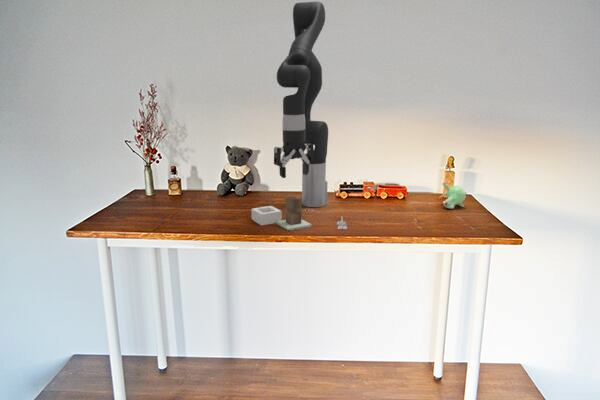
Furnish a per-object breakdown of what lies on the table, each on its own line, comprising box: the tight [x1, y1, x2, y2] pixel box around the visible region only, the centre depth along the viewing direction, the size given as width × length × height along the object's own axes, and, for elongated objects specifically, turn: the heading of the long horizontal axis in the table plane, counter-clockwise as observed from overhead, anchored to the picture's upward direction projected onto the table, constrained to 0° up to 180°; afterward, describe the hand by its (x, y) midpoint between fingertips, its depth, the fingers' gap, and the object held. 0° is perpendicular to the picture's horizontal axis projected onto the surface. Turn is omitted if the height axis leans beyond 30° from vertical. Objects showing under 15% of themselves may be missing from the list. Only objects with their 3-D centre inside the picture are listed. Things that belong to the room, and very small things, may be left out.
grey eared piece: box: [336, 216, 348, 230], centre depth 167 cm, size 15×7×4 cm, turn 0°
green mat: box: [275, 218, 312, 231], centre depth 165 cm, size 9×9×1 cm
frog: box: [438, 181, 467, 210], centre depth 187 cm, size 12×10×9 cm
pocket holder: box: [250, 205, 283, 226], centre depth 169 cm, size 8×8×4 cm
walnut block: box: [285, 195, 303, 225], centre depth 164 cm, size 4×4×9 cm
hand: (294, 176), depth 161 cm, fingers open, 8 cm apart
